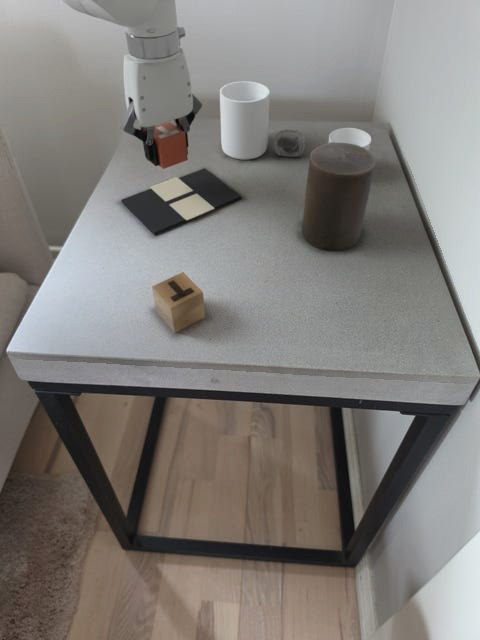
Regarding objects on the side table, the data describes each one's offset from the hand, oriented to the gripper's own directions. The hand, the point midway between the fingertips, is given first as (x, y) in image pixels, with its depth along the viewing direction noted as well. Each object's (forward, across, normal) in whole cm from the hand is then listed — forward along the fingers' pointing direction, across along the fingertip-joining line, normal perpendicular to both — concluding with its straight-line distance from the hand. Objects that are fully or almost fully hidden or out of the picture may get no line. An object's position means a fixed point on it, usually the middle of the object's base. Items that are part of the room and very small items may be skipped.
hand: (167, 156), depth 84 cm
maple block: (+7, +15, +28) cm, 32 cm away
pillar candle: (+7, -15, +26) cm, 31 cm away
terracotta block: (0, 0, 0) cm, 0 cm away
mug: (+7, -21, -6) cm, 23 cm away
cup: (+7, -30, +14) cm, 34 cm away
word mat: (+7, 0, +4) cm, 8 cm away
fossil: (+7, -26, +2) cm, 27 cm away
